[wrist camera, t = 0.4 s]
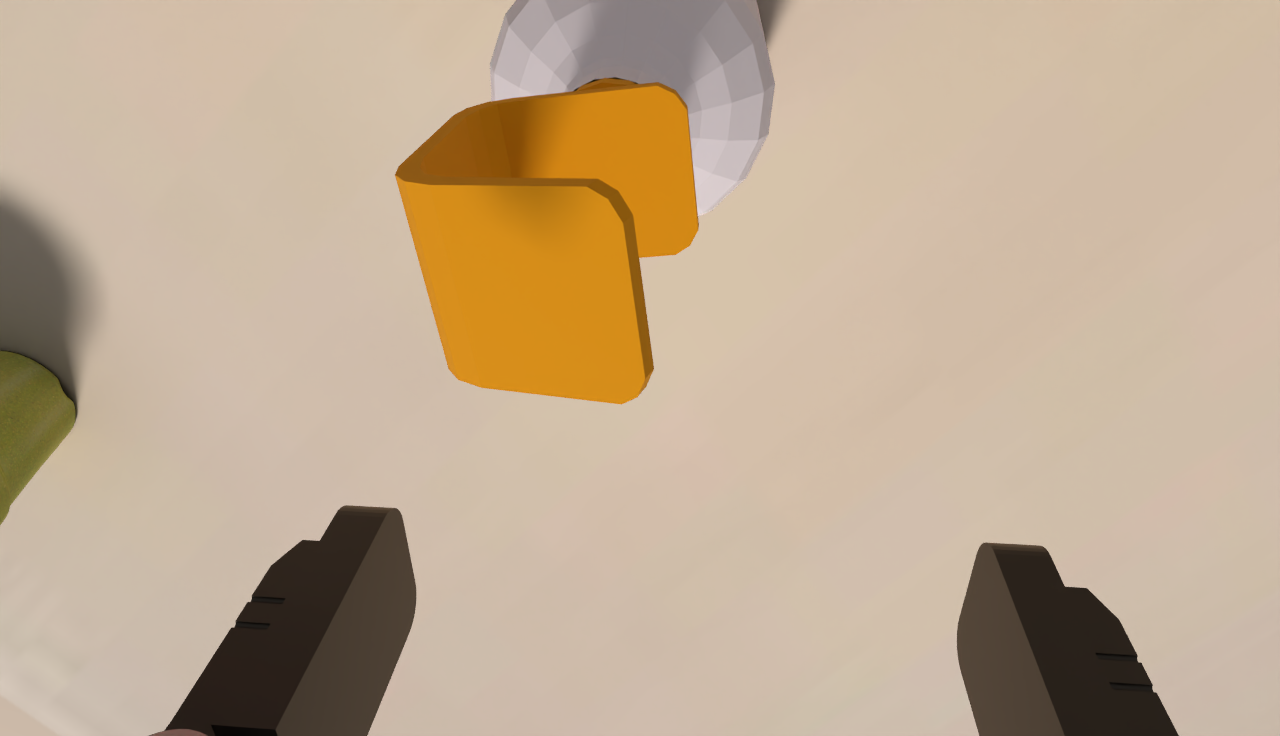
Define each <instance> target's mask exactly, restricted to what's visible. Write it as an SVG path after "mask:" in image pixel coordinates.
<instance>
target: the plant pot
mask: <svg viewBox="0 0 1280 736" xmlns="http://www.w3.org/2000/svg"><path fill="white" fill-rule="evenodd" d="M74 422H75V407H74V403H73V401H72V400H70V399H69V398H68V397H67V396H66V395H65V393H64V392H63V390H62V388H61V386H60V383H59V380H58V379H57V377H56V376H55V375H53V374H52V373H51V372H50V371H49V370H47V369H46V368H45V367H43V366H42V365H40V364H39V363H37V362H35V361H33V360H31V359H29V358H27V357H25V356H22V355H19V354H16V353H12V352H7V351H0V525H1V523H2V522H3V521H4V519H5V518H6V516H7V514H8V512H9V508H10V505H11V504H12V503H13V501H14V500H15V499H16V497H17V496H18V495H19V494H20V492H21V491H22V490H23V489H24V487H25V486H26V485H27V483H28V482H29V481H30V480H31V478H32V477H33V476H34V475H35V473H36V472H37V471H38V470H39V468H40V467H41V466H42V465H43V463H44V462H45V461H46V460H47V459H48V458H49V456H50V455H51V454H52V453H53V452H54V451H55V449H56V448H57V447H58V446H59V444H60V443H61V442H62V441H63V439H64V438H65V437H66V436H67V435H68V433H69V432H70V431H71V430H72V428H73V426H74Z"/></svg>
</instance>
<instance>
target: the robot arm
mask: <svg viewBox="0 0 1280 736" xmlns="http://www.w3.org/2000/svg"><path fill="white" fill-rule="evenodd" d="M415 607H416V584H415V579H414V574H413V569H412V563H411V558H410V553H409V548H408V543H407V538H406V533H405V528H404V523H403V518H402V515H401V513H400V511H399V510H398V509H396V508H383V507H365V506H347V505H346V506H343V507H341V508H340V509H339V510H338V512H337V513H336V515H335V516H334V518H333V520H332V521H331V523H330V525H329V526H328V528H327V530H326V531H325V533H324V535H323V536H322V538H321V540H320V541H310V540H302V541H301V542H299V543H298V544H297V545H296V546H295V547H293V548H292V549H291V550H290V551H288V552H287V553H286V554H285V555H284V556H282V557H281V558H280V559H279V560H277V561H276V562H275V563H274V564H273V565H271V567H270V568H269V570H268V571H267V573H266V575H265V576H264V578H263V579H262V581H261V582H260V584H259V585H258V587H257V589H256V590H255V592H254V593H253V595H252V600H251V602H248V603H247V604H246V606H245V607H244V609H243V610H242V612H241V613H240V615H239V617H238V618H237V620H236V625H235V627H234V628H231V629H230V631H229V632H228V634H227V635H226V637H225V638H224V640H223V641H222V643H221V645H220V646H219V648H218V649H217V651H216V652H215V654H214V655H213V657H212V659H211V660H210V662H209V663H208V665H207V666H206V668H205V670H204V671H203V673H202V674H201V676H200V677H199V679H198V680H197V682H196V684H195V685H194V687H193V688H192V690H191V691H190V693H189V694H188V696H187V698H186V699H185V701H184V702H183V704H182V705H181V707H180V708H179V710H178V712H177V713H176V715H175V716H174V718H173V719H172V721H171V722H170V724H169V725H168V726H167V728H166V729H165V730H164V731H162V732H158V733H155V734H152V735H149V736H367V735H368V732H369V730H370V728H371V725H372V723H373V720H374V718H375V715H376V713H377V710H378V708H379V706H380V703H381V701H382V698H383V696H384V693H385V691H386V688H387V686H388V683H389V681H390V679H391V676H392V674H393V671H394V669H395V666H396V664H397V661H398V659H399V657H400V654H401V652H402V649H403V647H404V644H405V642H406V639H407V637H408V635H409V632H410V629H411V626H412V623H413V619H414V614H415ZM957 651H958V660H959V665H960V669H961V673H962V677H963V680H964V684H965V687H966V691H967V694H968V698H969V701H970V704H971V708H972V711H973V715H974V718H975V722H976V725H977V729H978V732H979V736H1179V735H1178V733H1177V731H1176V730H1175V728H1174V726H1173V724H1172V722H1171V720H1170V718H1169V716H1168V714H1167V712H1166V710H1165V708H1164V706H1163V704H1162V702H1161V700H1160V698H1159V696H1158V695H1157V693H1154V692H1153V690H1152V686H1153V685H1152V683H1151V681H1150V679H1149V677H1148V675H1147V673H1146V671H1145V669H1144V667H1143V665H1142V663H1139V662H1138V661H1137V654H1136V652H1135V650H1134V648H1133V646H1132V644H1131V642H1130V640H1129V638H1128V636H1127V634H1126V632H1125V630H1124V628H1123V626H1122V624H1121V623H1120V621H1119V619H1118V618H1117V617H1116V616H1115V615H1114V614H1113V613H1112V612H1111V611H1110V610H1109V609H1108V608H1106V607H1105V606H1104V605H1103V604H1102V603H1101V602H1100V601H1099V600H1098V599H1097V598H1096V597H1095V596H1094V595H1093V594H1092V593H1091V592H1090V591H1089V590H1088V589H1087V588H1075V587H1065V586H1064V584H1063V582H1062V580H1061V577H1060V575H1059V573H1058V571H1057V569H1056V567H1055V565H1054V562H1053V560H1052V558H1051V556H1050V554H1049V552H1048V551H1047V550H1046V549H1045V548H1044V547H1043V546H1036V545H1018V544H1000V543H983V544H982V545H981V546H980V547H979V550H978V552H977V555H976V559H975V563H974V566H973V570H972V574H971V577H970V581H969V585H968V588H967V592H966V596H965V599H964V603H963V607H962V611H961V614H960V618H959V622H958V630H957Z"/></svg>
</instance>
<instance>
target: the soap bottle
mask: <svg viewBox="0 0 1280 736" xmlns="http://www.w3.org/2000/svg"><path fill="white" fill-rule="evenodd" d="M490 74H491V99H492V102H487V103H483V104H480V105H476V106H473V107H469V108H466V109H465V110H463V111H461V112H459V113H457V114H455V115H454V116H452V117H451V118H450V119H449V120H448V121H447V122H446V123H445V124H444V125H443V126H442V127H441V128H440V129H438V130H437V131H436V132H435V133H434V134H433V135H432V136H431V137H430V138H429V139H428V140H427V141H426V142H424V143H423V144H422V145H421V146H420V147H419V148H418V149H417V150H416V151H415V152H414V153H413V154H412V155H410V156H409V157H408V158H407V159H406V160H405V161H404V162H403V163H402V164H401V165H400V166H399V167H398V169H397V172H396V174H395V176H396V180H397V184H398V187H399V191H400V194H401V198H402V202H403V205H404V209H405V212H406V216H407V220H408V223H409V227H410V231H411V234H412V238H413V241H414V245H415V249H416V252H417V256H418V260H419V263H420V267H421V270H422V274H423V278H424V281H425V285H426V288H427V292H428V296H429V299H430V303H431V307H432V310H433V314H434V317H435V321H436V325H437V328H438V332H439V335H440V339H441V343H442V346H443V350H444V354H445V357H446V361H447V364H448V368H449V370H450V371H451V372H452V373H453V374H454V375H455V377H456V378H457V379H458V380H461V381H464V382H467V383H470V384H473V385H475V386H478V387H481V388H489V389H498V390H506V391H514V392H523V393H531V394H540V395H548V396H556V397H565V398H573V399H582V400H590V401H598V402H607V403H615V404H623V403H626V402H628V401H630V400H632V399H634V398H636V397H638V396H639V394H640V393H641V392H642V391H643V390H644V388H645V387H646V386H647V383H648V381H649V379H650V376H651V374H652V372H653V370H654V366H653V359H652V351H651V344H650V336H649V329H648V321H647V314H646V307H645V299H644V292H643V284H642V277H641V270H640V262H639V258H641V257H653V256H666V255H676V254H677V253H679V252H681V251H682V250H684V249H685V248H687V247H688V246H690V244H691V242H692V241H693V239H694V237H695V235H696V233H697V231H698V226H699V223H698V217H699V216H701V215H703V214H705V213H708V212H710V211H712V210H713V209H714V208H715V207H716V206H717V205H718V204H719V203H720V202H721V201H722V200H724V199H725V198H726V197H727V196H728V195H729V194H730V193H731V192H732V191H733V190H734V189H735V188H736V187H737V186H738V185H739V184H740V183H741V182H742V181H744V180H745V179H746V177H747V175H748V173H749V171H750V169H751V167H752V165H753V163H754V161H755V160H756V158H757V156H758V154H759V152H760V150H761V148H762V146H763V144H764V142H765V140H766V138H767V136H768V133H769V125H770V117H771V109H772V102H773V94H774V86H775V82H774V77H773V73H772V68H771V64H770V59H769V55H768V50H767V46H766V41H765V36H764V32H763V27H762V23H761V18H760V14H759V9H758V5H757V0H516V1H515V3H514V4H513V5H512V6H511V8H510V9H509V10H508V12H507V13H506V14H505V17H504V20H503V24H502V27H501V30H500V33H499V36H498V40H497V43H496V46H495V49H494V52H493V56H492V59H491V62H490Z"/></svg>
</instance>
